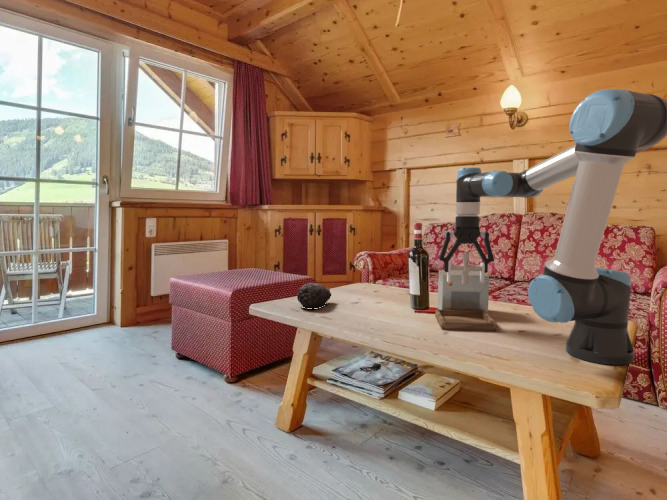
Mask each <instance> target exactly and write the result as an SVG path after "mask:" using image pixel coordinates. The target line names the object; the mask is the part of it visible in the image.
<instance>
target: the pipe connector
mask: <svg viewBox="0 0 667 500" xmlns="http://www.w3.org/2000/svg"><path fill="white" fill-rule="evenodd" d="M462 254H463V255H462V264H451V270H462V271H463V276H462V283H468V273H469V272H470V271H482V266H480V265H473V264H472V265H470V264H469V261H470V253H469V252H463V253H462Z"/></svg>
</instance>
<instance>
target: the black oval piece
mask: <svg viewBox="0 0 667 500" xmlns="http://www.w3.org/2000/svg"><path fill="white" fill-rule="evenodd" d="M331 296H332V292H331V289H330V288H328V287H326V286H325V285H323V284H321V283H315V282H308V283H305V284H303V285H302V286H301V287H299V289H298V290H297V294H296V298H297V301H298V303H300V305H302V306H303V307H305V308H312V309H314V308H319V307H322V306H324V305H325V303H328V301H329V300H330V298H331ZM302 306H301V307H302ZM322 308H323V307H322Z"/></svg>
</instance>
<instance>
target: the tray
mask: <svg viewBox="0 0 667 500" xmlns="http://www.w3.org/2000/svg"><path fill="white" fill-rule="evenodd" d="M434 313H435V315H434V316H435V319H436V321H437V323H438V325H439V327H440V329H441V330H443V331H447V330H448V331H470V332H495V333H496V332H498V323H497V322H496V321H495V320H494V319H493V318H492V317H491V316H490V315H489V313H488V314H487V313H486V312H485V311H474V310H441V309H438V308H437V309H435V310H434Z"/></svg>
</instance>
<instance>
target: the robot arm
mask: <svg viewBox="0 0 667 500" xmlns="http://www.w3.org/2000/svg"><path fill="white" fill-rule="evenodd" d="M568 124H569V127H568V129H569V130H568V131H569V134H571V138H572V140H573V141H574V142H575V144H574V145H572V146H570V147H568V148H567V149H564V150H562V151H561V152H559V153H557V154H555V155H552V156H551V157H549V158H546V159H544V160H543V161H541V162H539V163H537V164H535V165H533V166H531V167H529V168H528V169H525V170H523V171H521V172H507V171H506V170H491V171H486V172H485V171H484V172H482V169H481V168H480V167H476V166H475V167H471V166H470V167H461V168H459V169H457V174H456V180H455V182H456V191H455V192H456V193H455V194H456V197H455V199H456V200H455V202H456V203H455V215H457V216H456V217H455V223H454V224H455V225H454V226H455V228H454V231H445V233H444V234H445V235H444V236H445V237H444V241H443V245H442V247H441V250H440V254H439V256H438V259H439V261H441V262H443V263H444V264H443V270H444V271H445V272H447V282H450V279H451V265H452V263H451V262H450V261H451V260H452V258H453V256H454V254H455V253H456V251H457V250H458V248H459V246H460V245H461V244H462V245H466V244H469V245H473V247H474V248H475V250H476V252H477V253H478V256H479V257H480V259H481V260H482V262H480V265H479V266H482V271H480V282H481V283H484V273H486V274H487V273H488V272H489V270H488V269H489V267H488V266H489V263H493V262H494V261H495V258H494V254H493V250H492V246H491V243H490V240H489V237H490V232H488V231H480V216H479V215H480V213H481V212H480V210H481V198H485V197H486V198H488V197H490V198H497V197H498V198H501V197H502V198H525V199H527V198H534V197H538V196H539V195H541V193H543V191H544V189H546V188H549V187H552V186H553V185H556V184H558V183H560V182H562V181H565V180H567V179H570V178H572V177H574V176H575V177H574V181H573V183H572V184H573V185H572V188H571V193H570V197H569V199H568V204H567V208H566V211H565V215H564V219H563V223H562V227H561V231H560V234H559V238H558V242H557V245H556V250H555V254H554V256H553V258H552V259H550V260H548V261H546V262H545V264H544V268H543V270H542V274H541V275H538V276H536V277H535V278H534V279H532V280H531V282H530V283H529V285H528V289H527V295H528V301H529V304H530V305H531V306H532V309H533V311H534V313H536V314H537V316H538V317H540V319H542V320H543V321H546V322H549V323H562V324H565V323H568V322H574V324H573V326H572V329H571V330H570V333H569V335H568V337H567V338H566V339H567V340H566V343H565V352H566V353H568V354H569V355H570V356H572V357H575V358H577V359H580V360H583V361H587V362H591V363H595V364H600V365H601V364H603V365H610V364H611V365H614V366H624V365H631V364H633V363H634V362H635V361H634V360H635V351H634V346H633V344H632V340H631V337H630V334H629V330H628V326H629V324H628V323H629V313H630V302H631V301H630V300H631V290H632V284H631V283H632V282H631V281H632V280H631V275H630V274H629V272H627V271H621V270H613V269H609V268H608V269H607V268H601V267H600V268H599V267H595V264H596V262H597V258H598V255H599V250H600V247H601V243H602V241H603V239H604V238H603V237H604V234H605V230H606V228H607V225H608V220H609V217H610V213H611V211H612V207H613V203H614V200H615V197H616V193H617V190H618V186H619V183H620V180H621V176H622V172H623V169H624V166H625V165H626V164H627V163H629V162H631V161H633V160H634V159H636V158H635V157H636V155H637V154H638V153H642V152H643V151H645V150H648V149H650V148H652V147H654V146H655V145H657V144H659V143H660V142H661V141H663V140H664V139H665V138H666V136H667V100H665V98H663V97H661V96H659V95H656V94H650V93H643V92H642V93H641V92H637V91H631V90H626V89H620V88H615V89H614V88H612V89H611V88H606V89H601V90H597V91H595V92H592V93H590V94H589V95H587V97H585V98H584V99H582V100H581V101H580V102H579V104H577V106H576V107H575V109H574V111H572V114H571V117H570V120H569V123H568ZM453 236H454V237H455V239H456V240H455V242H454V243H453V245H452V246H451V248H450V249H449V251H448V253H447V250H448V248H449V247H448V246H449V244H450V240H451V239H452V238H453ZM479 237H481V239H483V244H484V248H485V250H486V251H485V253H486V254H487V256H486V254H485V253H484V251H483V249H482V247H481V245H480V244H479V241H478V240H477V239H479ZM446 253H447V255H446ZM611 365H610V366H611Z"/></svg>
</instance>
